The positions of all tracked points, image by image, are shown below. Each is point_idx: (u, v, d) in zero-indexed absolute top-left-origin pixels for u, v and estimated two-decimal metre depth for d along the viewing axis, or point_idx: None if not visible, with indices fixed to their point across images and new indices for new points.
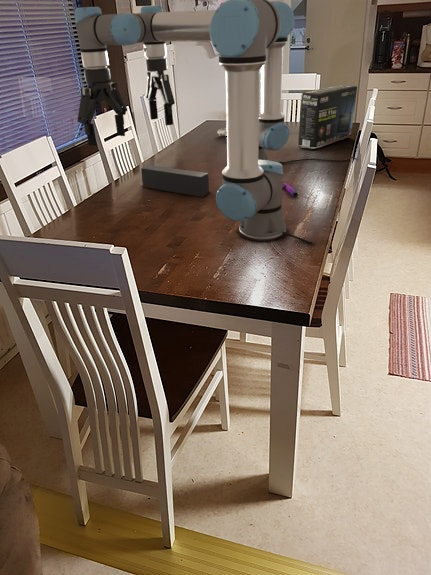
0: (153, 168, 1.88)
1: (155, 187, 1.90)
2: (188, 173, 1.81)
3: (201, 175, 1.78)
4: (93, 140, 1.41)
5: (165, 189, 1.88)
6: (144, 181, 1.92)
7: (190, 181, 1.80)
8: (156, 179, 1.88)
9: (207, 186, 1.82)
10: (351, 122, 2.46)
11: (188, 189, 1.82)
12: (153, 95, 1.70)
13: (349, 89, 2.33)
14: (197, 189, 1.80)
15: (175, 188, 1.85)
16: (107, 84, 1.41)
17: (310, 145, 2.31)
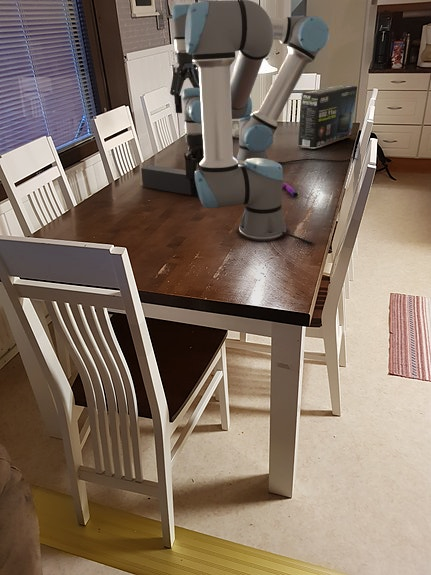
0: (153, 168, 1.88)
1: (155, 187, 1.90)
2: None
3: None
4: (195, 191, 1.80)
5: (165, 189, 1.88)
6: (144, 181, 1.92)
7: None
8: (156, 179, 1.88)
9: None
10: (351, 122, 2.46)
11: (188, 189, 1.82)
12: (195, 85, 1.87)
13: (349, 89, 2.33)
14: None
15: (175, 188, 1.85)
16: (201, 145, 1.75)
17: (310, 145, 2.31)
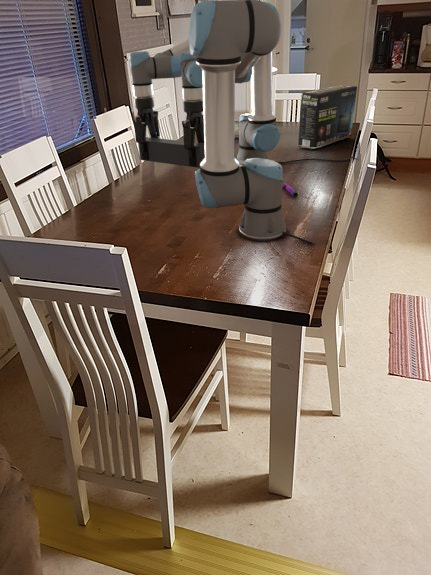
0: (150, 140, 1.82)
1: (152, 159, 1.84)
2: None
3: (199, 145, 1.72)
4: (194, 162, 1.74)
5: (162, 161, 1.82)
6: (141, 154, 1.86)
7: None
8: (153, 151, 1.82)
9: None
10: (351, 122, 2.46)
11: (186, 160, 1.76)
12: (152, 133, 1.85)
13: (349, 89, 2.33)
14: None
15: (173, 160, 1.79)
16: (200, 113, 1.69)
17: (310, 145, 2.31)
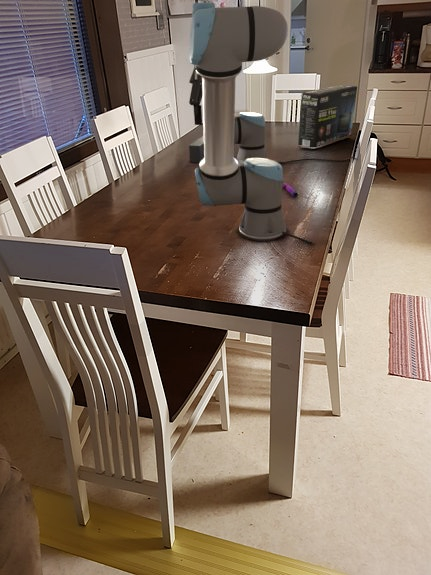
0: None
1: None
2: (198, 141, 2.24)
3: (194, 144, 2.19)
4: (200, 120, 1.60)
5: None
6: None
7: None
8: None
9: (197, 156, 2.20)
10: (351, 122, 2.46)
11: None
12: None
13: (349, 89, 2.33)
14: None
15: None
16: None
17: (310, 145, 2.31)
